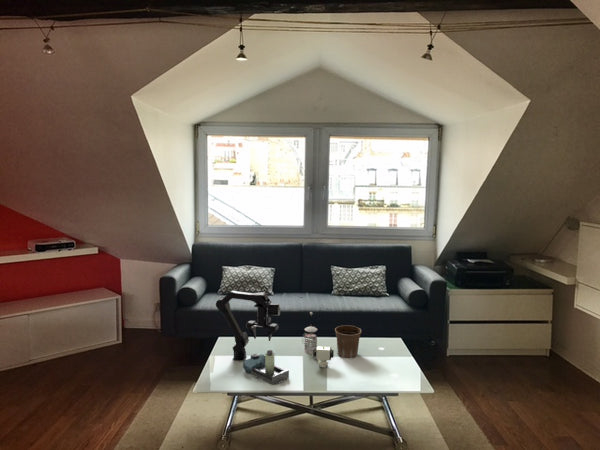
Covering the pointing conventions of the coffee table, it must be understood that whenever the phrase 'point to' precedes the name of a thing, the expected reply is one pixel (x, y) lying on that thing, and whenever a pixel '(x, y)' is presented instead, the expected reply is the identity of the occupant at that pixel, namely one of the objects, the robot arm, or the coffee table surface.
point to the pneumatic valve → (323, 355)
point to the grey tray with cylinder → (258, 370)
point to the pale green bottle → (269, 362)
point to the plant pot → (347, 341)
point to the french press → (313, 342)
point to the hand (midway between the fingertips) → (262, 339)
